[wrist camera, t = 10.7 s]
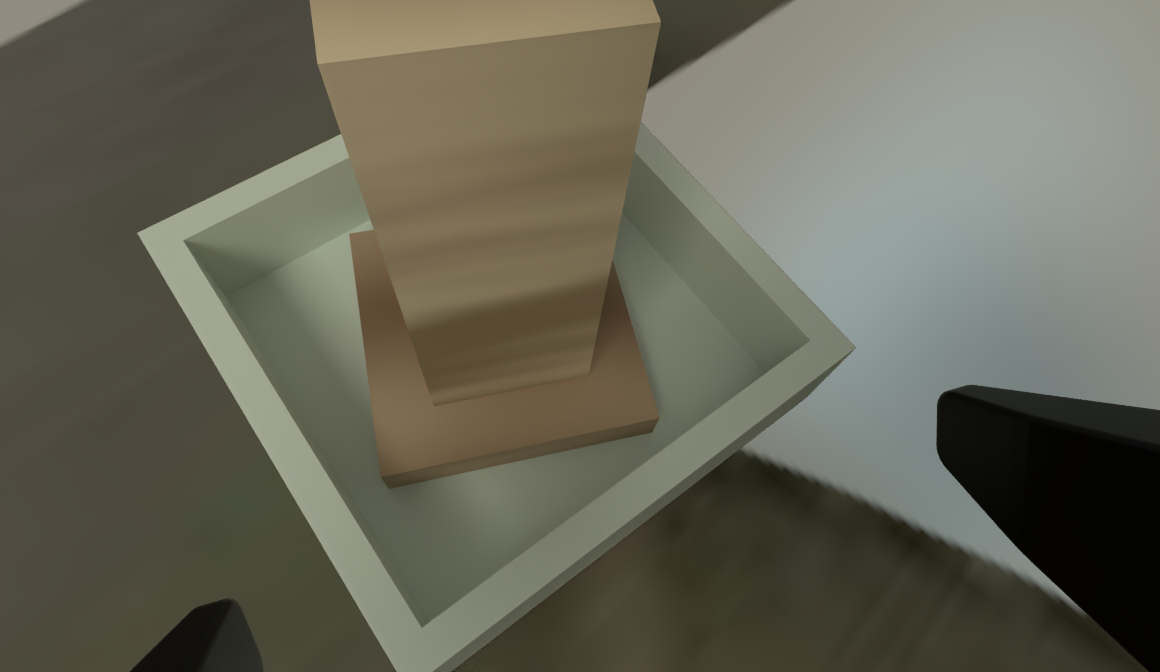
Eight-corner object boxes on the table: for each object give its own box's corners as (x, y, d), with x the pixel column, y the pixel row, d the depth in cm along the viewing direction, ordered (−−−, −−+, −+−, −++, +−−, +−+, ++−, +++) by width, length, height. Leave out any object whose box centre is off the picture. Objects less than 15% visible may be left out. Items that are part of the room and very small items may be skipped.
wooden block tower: (652, 432, 20) (822, 100, 8) (388, 488, 19) (177, 194, 7) (590, 218, 22) (654, -247, 11) (358, 256, 21) (169, -218, 10)
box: (806, 397, 21) (855, 347, 18) (429, 688, 17) (408, 690, 14) (550, 113, 25) (554, 30, 22) (195, 299, 21) (137, 232, 18)
